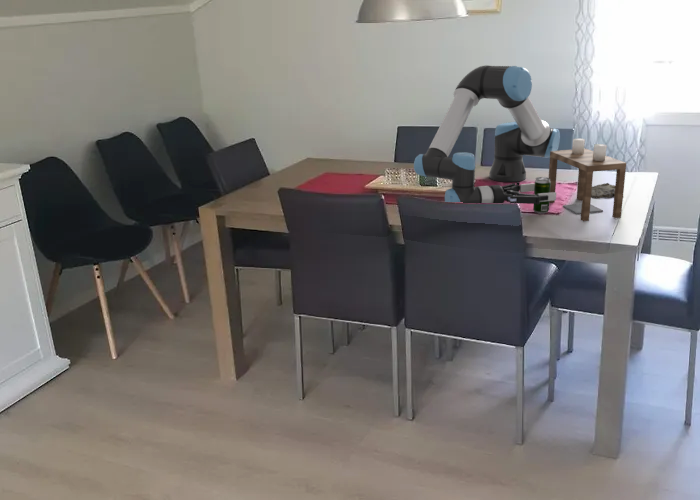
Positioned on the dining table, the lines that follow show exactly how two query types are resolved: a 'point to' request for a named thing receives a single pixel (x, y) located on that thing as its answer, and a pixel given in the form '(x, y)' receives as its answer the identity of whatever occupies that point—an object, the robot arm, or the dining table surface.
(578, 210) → the felt pad
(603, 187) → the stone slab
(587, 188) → the walnut stand
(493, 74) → the robot arm
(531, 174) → the dining table surface
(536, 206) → the beer can
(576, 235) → the dining table surface
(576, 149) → the white short cylinder
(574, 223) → the dining table surface
